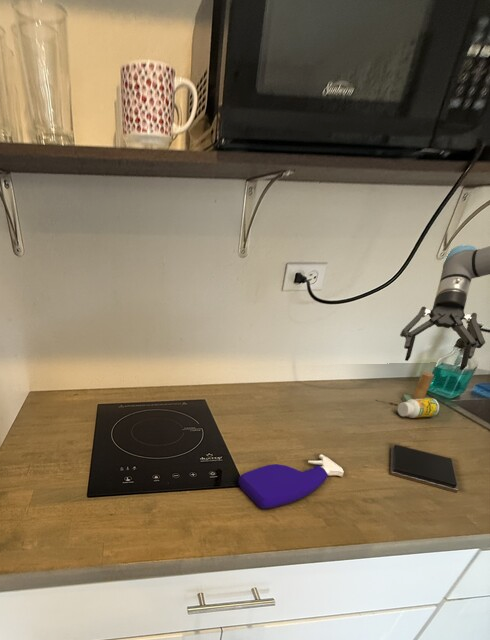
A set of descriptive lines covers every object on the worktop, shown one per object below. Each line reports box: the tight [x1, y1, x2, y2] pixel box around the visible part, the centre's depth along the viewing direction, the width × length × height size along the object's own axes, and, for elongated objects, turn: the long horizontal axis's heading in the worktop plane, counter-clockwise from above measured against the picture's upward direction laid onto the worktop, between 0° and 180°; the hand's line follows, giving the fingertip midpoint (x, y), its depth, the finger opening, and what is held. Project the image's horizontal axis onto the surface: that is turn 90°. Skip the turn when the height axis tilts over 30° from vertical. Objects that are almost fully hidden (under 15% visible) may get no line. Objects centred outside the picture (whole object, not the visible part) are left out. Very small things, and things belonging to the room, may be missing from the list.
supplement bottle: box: [397, 397, 440, 419], centre depth 111 cm, size 5×5×10 cm
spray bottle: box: [238, 453, 345, 510], centre depth 84 cm, size 3×11×24 cm
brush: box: [401, 371, 435, 402], centre depth 115 cm, size 7×4×10 cm, turn 77°
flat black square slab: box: [389, 444, 459, 494], centre depth 90 cm, size 13×12×2 cm
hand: (434, 363), depth 109 cm, fingers open, 13 cm apart
